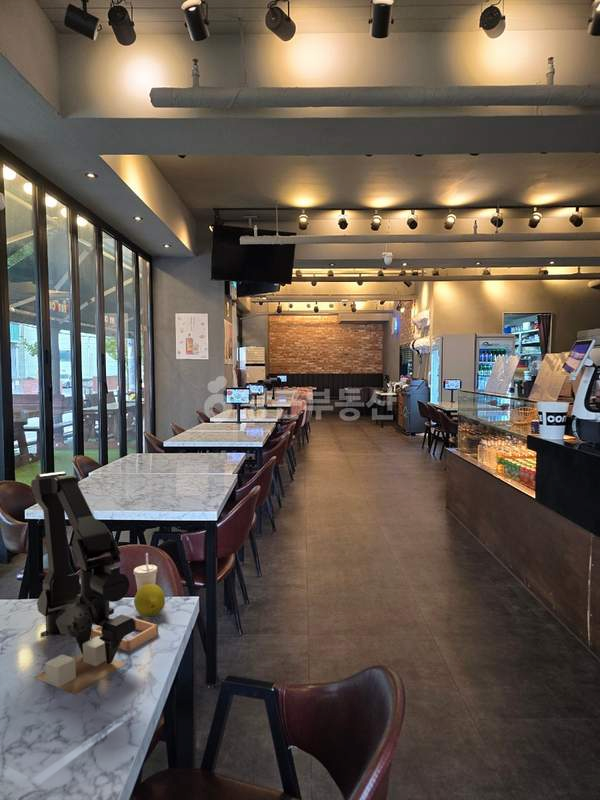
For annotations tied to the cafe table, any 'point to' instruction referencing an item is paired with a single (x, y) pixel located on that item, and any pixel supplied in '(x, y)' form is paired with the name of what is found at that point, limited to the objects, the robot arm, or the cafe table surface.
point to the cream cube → (94, 651)
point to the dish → (127, 645)
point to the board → (86, 674)
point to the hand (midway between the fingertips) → (97, 658)
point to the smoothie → (145, 574)
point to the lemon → (149, 600)
